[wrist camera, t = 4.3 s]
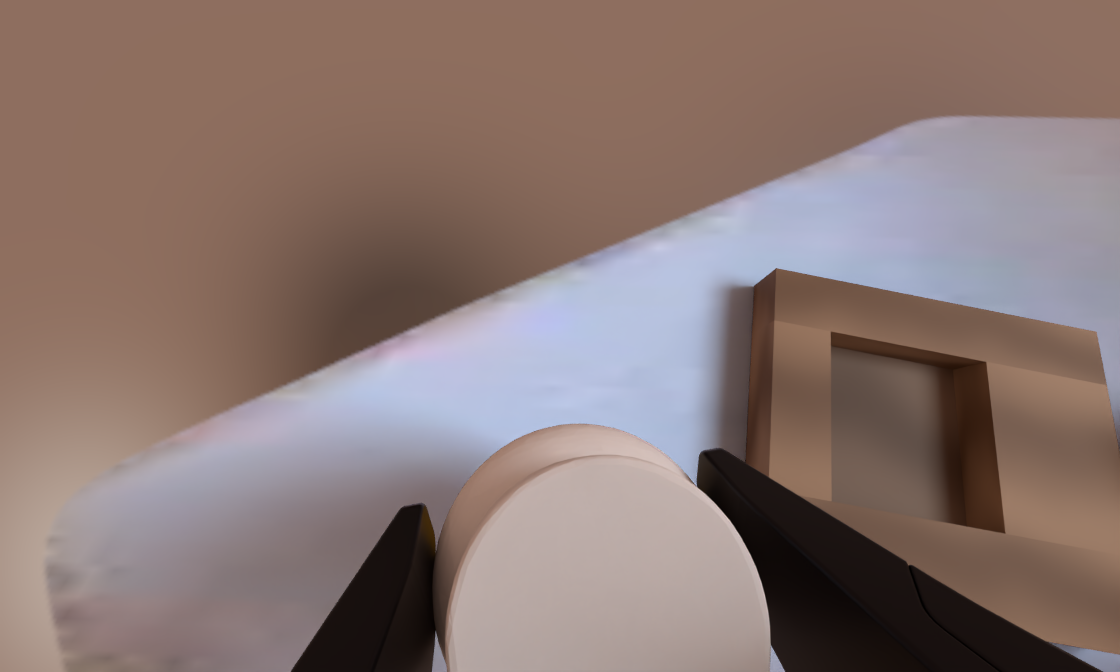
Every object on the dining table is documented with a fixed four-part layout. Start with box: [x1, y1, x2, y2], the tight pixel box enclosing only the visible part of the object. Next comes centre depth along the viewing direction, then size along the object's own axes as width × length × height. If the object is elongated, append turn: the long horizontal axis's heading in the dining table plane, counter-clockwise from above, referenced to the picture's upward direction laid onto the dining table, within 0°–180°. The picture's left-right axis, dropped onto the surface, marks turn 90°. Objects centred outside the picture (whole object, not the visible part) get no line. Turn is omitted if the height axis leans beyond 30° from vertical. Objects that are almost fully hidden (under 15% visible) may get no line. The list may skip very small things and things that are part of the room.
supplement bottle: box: [432, 424, 771, 672], centre depth 10 cm, size 5×5×10 cm
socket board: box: [746, 268, 1120, 655], centre depth 19 cm, size 13×15×2 cm
